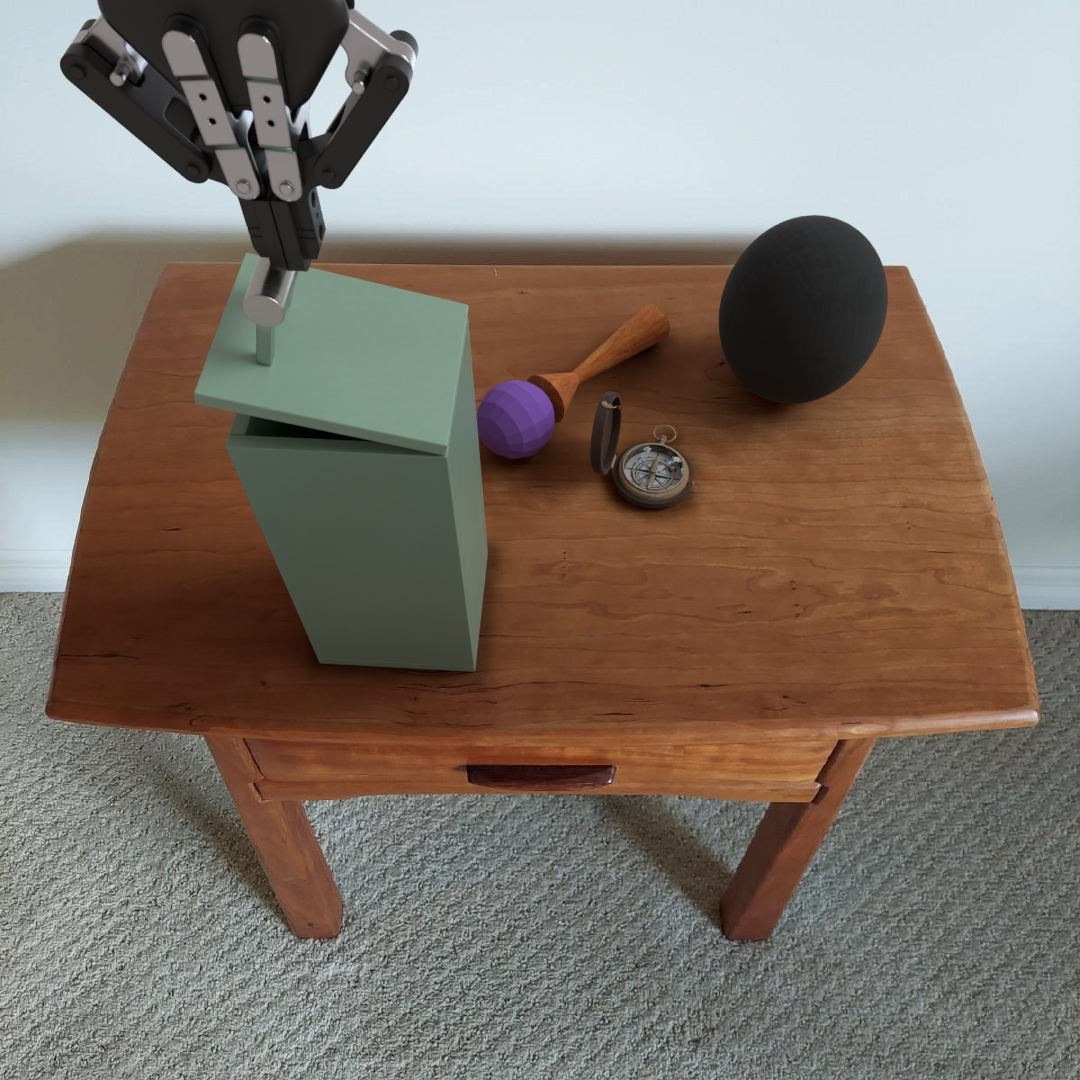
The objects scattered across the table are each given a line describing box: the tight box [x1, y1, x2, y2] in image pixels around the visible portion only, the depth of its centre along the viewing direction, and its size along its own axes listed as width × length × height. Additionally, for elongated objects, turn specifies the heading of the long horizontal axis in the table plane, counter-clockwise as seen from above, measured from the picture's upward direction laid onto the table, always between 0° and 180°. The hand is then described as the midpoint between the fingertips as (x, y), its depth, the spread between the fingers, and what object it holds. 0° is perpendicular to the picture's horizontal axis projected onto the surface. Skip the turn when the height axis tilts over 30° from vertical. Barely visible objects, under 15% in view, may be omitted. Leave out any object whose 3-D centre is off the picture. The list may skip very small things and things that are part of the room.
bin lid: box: [193, 252, 470, 455], centre depth 43 cm, size 11×10×5 cm
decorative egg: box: [718, 214, 889, 405], centre depth 71 cm, size 12×12×15 cm
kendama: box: [476, 303, 671, 460], centre depth 74 cm, size 6×6×20 cm
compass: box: [589, 391, 695, 509], centre depth 69 cm, size 8×8×7 cm
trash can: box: [225, 316, 489, 673], centre depth 55 cm, size 11×10×23 cm
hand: (296, 258), depth 40 cm, fingers closed
